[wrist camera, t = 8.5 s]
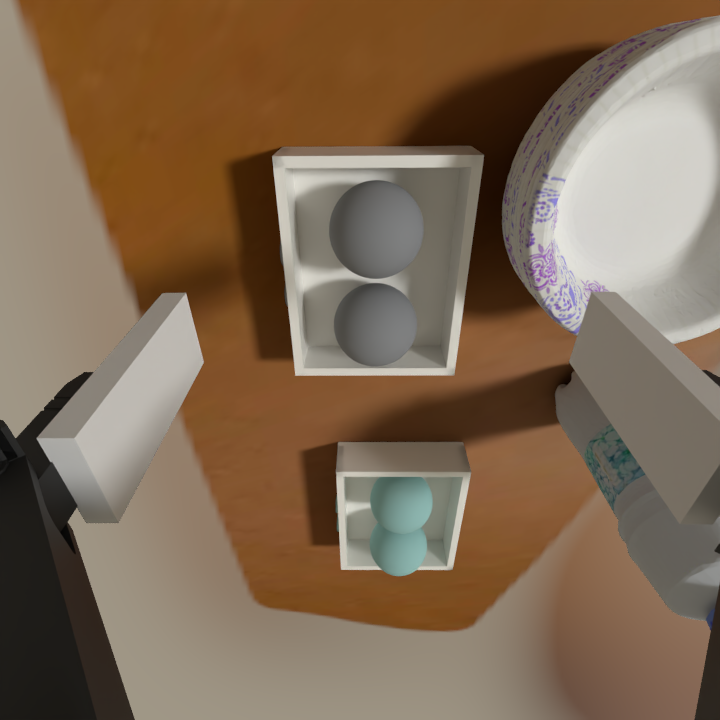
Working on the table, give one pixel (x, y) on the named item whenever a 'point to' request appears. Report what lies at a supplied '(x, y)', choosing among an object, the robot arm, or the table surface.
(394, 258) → the charcoal ball
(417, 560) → the teal ball
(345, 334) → the charcoal ball
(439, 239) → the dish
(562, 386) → the bottle
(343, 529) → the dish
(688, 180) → the paper bowls
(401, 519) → the teal ball
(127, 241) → the table surface
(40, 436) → the robot arm
